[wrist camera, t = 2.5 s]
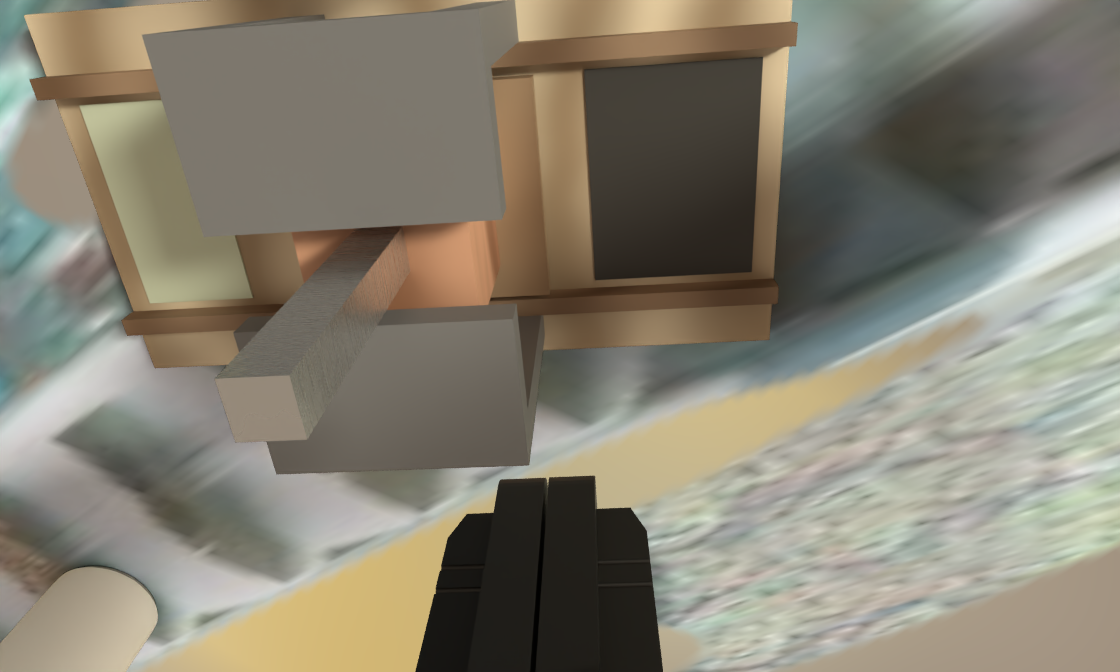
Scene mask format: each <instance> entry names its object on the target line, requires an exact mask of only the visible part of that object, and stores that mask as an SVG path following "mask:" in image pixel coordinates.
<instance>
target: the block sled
mask: <svg viewBox="0 0 1120 672" xmlns="http://www.w3.org/2000/svg"><path fill="white" fill-rule="evenodd" d="M492 80H493V89H494V98H495V108H496V117H497V126H498V136H499V145H500V154H501V164H502V173H503V183H504V192H505V201H506V210H505V213H504V216H503V218H502V220H491V221H473V222H456V223H439V224H422V225H404V226H387V227H370V228H353V229H335V230H318V231H301V232H291V233H292V237H293V241H294V245H295V249H296V253H297V257H298V261H299V265H300V269H301V273H302V277H303V281H304V284H303V285H302V286H301V287H300V288H299V289H298V290H297V291H296V293H295V294H294V295H293V296H292V297H291V298H290V299H289V300H288V301H287V302H286V303H285V304H284V305H283V306H282V307H281V309H280V310H279V311H278V312H277V313H276V314H275V315H274V316H273V317H272V318H271V319H270V320H269V321H268V322H267V323H266V324H265V326H264V327H263V328H262V329H261V330H260V331H259V332H258V333H257V334H256V335H255V336H254V337H253V338H252V339H251V340H250V342H249V343H248V344H247V345H246V346H245V347H244V348H243V349H242V350H241V351H240V352H239V353H238V354H237V355H236V356H235V357H234V359H233V360H232V361H231V362H230V363H229V364H228V365H227V366H226V367H225V368H224V369H223V370H222V371H221V372H220V373H219V375H218V376H217V377H216V378H215V382H216V385H217V388H218V391H219V394H220V397H221V400H222V403H223V406H224V409H225V412H226V415H227V418H228V421H229V424H230V427H231V430H232V433H233V436H234V439H235V442H260V441H286V440H307V439H308V437H309V436H310V434H311V432H312V431H313V429H314V428H315V426H316V424H317V423H318V421H319V419H320V418H321V416H322V414H323V413H324V411H325V410H326V408H327V406H328V405H329V403H330V401H331V400H332V398H333V397H334V395H335V393H336V392H337V390H338V388H339V387H340V385H341V383H342V382H343V380H344V379H345V377H346V375H347V374H348V372H349V370H350V369H351V367H352V366H353V364H354V362H355V361H356V359H357V357H358V356H359V354H360V353H361V351H362V349H363V348H364V346H365V344H366V343H367V341H368V339H369V338H370V336H371V335H372V333H373V331H374V330H375V328H376V326H377V325H378V323H379V322H380V320H381V318H382V317H383V315H384V313H385V312H386V310H397V309H417V308H437V307H456V306H476V305H488V304H489V301H490V298H496V297H515V296H535V295H550V288H551V284H550V271H549V259H548V247H547V235H546V223H545V211H544V199H543V187H542V174H541V162H540V150H539V138H538V126H537V114H536V102H535V90H534V78H533V75H519V76H505V77H492Z"/></svg>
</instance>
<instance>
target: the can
mask: <svg viewBox="0 0 1120 672" xmlns="http://www.w3.org/2000/svg"><path fill="white" fill-rule="evenodd" d="M157 620H158V612H157V607H156V603H155V600H154V598H153V596H152V594H151V593H150V592H149V590H148V589H147V588H146V587H145V586H144V585H143V584H142V583H141V582H139V581H138V580H137V579H135V578H134V577H132V576H130V575H128V574H126V573H124V572H122V571H119V570H116V569H113V568H109V567H103V566H88V567H82V568H77V569H73V570H70V571H68V572H66V573H64V574H63V575H62V576H60V577H59V578H58V579H57V580H56V581H55V582H54V583H53V585H52V586H51V587H50V588H49V589H48V590H47V591H46V592H45V593H44V594H43V596H42V597H41V598H40V599H39V600H38V601H37V602H36V603H35V605H34V606H33V607H32V608H31V609H30V610H29V611H28V612H27V613H26V615H25V616H24V617H23V618H22V619H21V620H20V621H19V622H18V624H17V625H16V626H15V627H14V628H13V629H12V630H11V632H10V633H9V634H8V635H7V636H6V637H5V638H4V639H3V641H2V642H1V643H0V672H126V671H127V669H128V668H129V666H130V665H131V663H132V662H133V660H134V659H135V657H136V656H137V654H138V653H139V651H140V650H141V648H142V647H143V645H144V643H145V642H146V640H147V639H148V637H149V636H150V634H151V633H152V631H153V630H154V628H155V626H156V624H157Z"/></svg>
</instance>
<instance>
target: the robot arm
mask: <svg viewBox="0 0 1120 672" xmlns="http://www.w3.org/2000/svg"><path fill="white" fill-rule="evenodd" d="M441 567H442V569H441V571H440V573H439V577H438V581H437V585H436V594H434V598H433V602H432V606H431V610H430V614H429V618H428V622H427V626H426V631H425V635H424V639H423V643H422V647H421V651H420V655H419V659H418V663H417V668H416V672H663V667H662V658H661V650H660V641H659V634H658V624H657V615H656V607H655V598H654V590H653V582H652V573H651V564H650V556H649V547H648V538H647V531H646V529H645V528H644V526H643V525H642V524H641V522H640V521H639V519H638V518H637V517H636V515H635V514H634V512H633V511H632V510H631V508H609V509H597V500H596V485H595V476H575V477H554V478H553V477H550V478H549V484H548V485H547V480H546V478H530V479H505V480H500V481H499V485H498V490H497V496H496V502H495V509H494V513H480V514H467V515H466V516H465V517H464V518H463V520H462V521H461V522H460V523H459V525H458V526H457V527H456V528H455V530H454V531H453V532H452V534H451V535H450V536H449V537H448V540H447V544H446V548H445V552H444V557H443V561H442V565H441Z"/></svg>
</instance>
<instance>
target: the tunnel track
mask: <svg viewBox="0 0 1120 672" xmlns="http://www.w3.org/2000/svg"><path fill="white" fill-rule="evenodd" d="M791 12H792V0H207V1H195V2H182V3H170V4H157V5H145V6H132V7H120V8H107V9H95V10H82V11H70V12H57V13H45V14H32V15H24V17H25V20H26V22H27V25H28V28H29V30H30V33H31V36H32V39H33V41H34V44H35V47H36V49H37V52H38V55H39V57H40V60H41V63H42V66H43V68H44V71H45V74H46V76H47V77H41V78H35V79H30V82H31V85H32V88H33V90H34V93H35V95H36V98H37V100H51V99H55V101H56V103H57V106H58V109H59V111H60V114H61V116H62V119H63V122H64V125H65V127H66V130H67V133H68V135H69V138H70V141H71V144H72V146H73V149H74V152H75V154H76V157H77V160H78V163H79V165H80V168H81V171H82V173H83V176H84V179H85V181H86V184H87V187H88V190H89V192H90V195H91V198H92V200H93V203H94V206H95V208H96V211H97V214H98V217H99V219H100V222H101V225H102V227H103V230H104V233H105V235H106V238H107V241H108V243H109V246H110V249H111V252H112V254H113V257H114V260H115V262H116V265H117V268H118V270H119V273H120V276H121V279H122V281H123V284H124V287H125V289H126V292H127V295H128V297H129V300H130V303H131V305H132V308H133V312H132V313H131V314H129V315H128V316H127V317H125V318H124V319H122V320H121V321H122V323H123V326H124V329H125V331H126V334H127V336H132V335H143V338H144V341H145V343H146V346H147V349H148V351H149V354H150V357H151V359H152V362H153V365H154V367H155V368H169V367H191V366H213V365H228V364H229V363H230V362H231V361H232V360H233V359H234V357H235V356H236V355H237V354H238V353H239V352H240V351H241V350H242V349H243V348H244V347H245V346H246V345H247V344H248V343H249V342H250V340H251V339H252V338H253V337H254V336H255V335H256V334H257V333H258V332H259V331H260V330H261V329H262V328H263V327H264V326H265V324H266V323H267V322H268V321H269V320H270V319H271V318H272V317H273V316H274V315H275V314H276V313H277V312H278V311H279V310H280V309H281V307H282V306H283V305H284V304H285V303H286V302H287V301H288V300H289V299H290V298H291V297H292V296H293V295H294V294H295V293H296V291H297V290H298V289H299V288H300V287H301V286H302V285H303V284H304V281H303V277H302V273H301V269H300V265H299V261H298V257H297V253H296V249H295V245H294V241H293V237H292V233H291V232H301V231H318V230H335V229H353V228H370V227H387V226H404V225H422V224H439V223H456V222H473V221H491V220H502V218H503V216H504V213H505V210H506V201H505V192H504V183H503V173H502V164H501V154H500V145H499V136H498V126H497V117H496V108H495V98H494V89H493V80H492V77H505V76H519V75H533V78H534V90H535V102H536V114H537V126H538V138H539V150H540V162H541V174H542V187H543V199H544V211H545V223H546V235H547V247H548V259H549V271H550V284H551V288H550V295H535V296H515V297H496V298H490V301H489V304H488V305H476V306H456V307H437V308H417V309H397V310H386V312H385V313H384V315H383V317H382V318H381V320H380V322H379V323H378V325H377V326H376V328H375V330H374V331H373V333H372V335H371V336H370V338H369V339H368V341H367V343H366V344H365V346H364V348H363V349H362V351H361V353H360V354H359V356H358V357H357V359H356V361H355V362H354V364H353V366H352V367H351V369H350V370H349V372H348V374H347V375H346V377H345V379H344V380H343V382H342V383H341V385H340V387H339V388H338V390H337V392H336V393H335V395H334V397H333V398H332V400H331V401H330V403H329V405H328V406H327V408H326V410H325V411H324V413H323V414H322V416H321V418H320V419H319V421H318V423H317V424H316V426H315V428H314V429H313V431H312V432H311V434H310V436H309V437H308V439H307V440H286V441H266V442H267V445H268V448H269V451H270V455H271V458H272V461H273V464H274V468H275V471H276V474H300V473H328V472H356V471H384V470H412V469H440V468H468V467H496V466H524V465H529V462H530V454H531V446H532V438H533V429H534V421H535V413H536V405H537V397H538V389H539V380H540V372H541V364H542V356H543V350H560V349H582V348H604V347H625V346H647V345H669V344H690V343H712V342H734V341H756V340H769V337H770V322H771V307H772V304H778V291H779V287H778V285H777V283H776V282H775V280H774V279H773V278H774V263H775V248H776V233H777V219H778V204H779V189H780V174H781V160H782V145H783V130H784V115H785V101H786V86H787V71H788V56H789V47H790V46H796V40H797V26H798V23H796V22H791Z"/></svg>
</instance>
